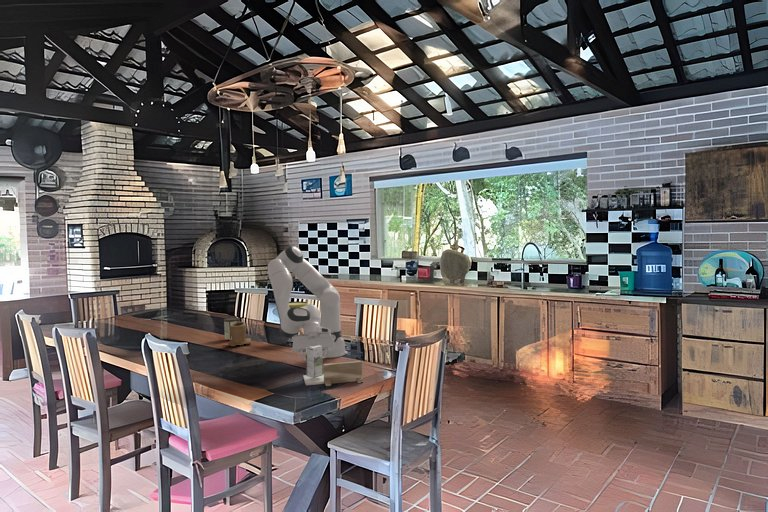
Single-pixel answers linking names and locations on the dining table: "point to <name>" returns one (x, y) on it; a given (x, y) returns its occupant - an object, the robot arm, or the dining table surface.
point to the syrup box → (314, 361)
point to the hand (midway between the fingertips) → (314, 358)
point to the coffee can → (227, 325)
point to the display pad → (313, 380)
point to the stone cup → (238, 334)
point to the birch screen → (342, 372)
